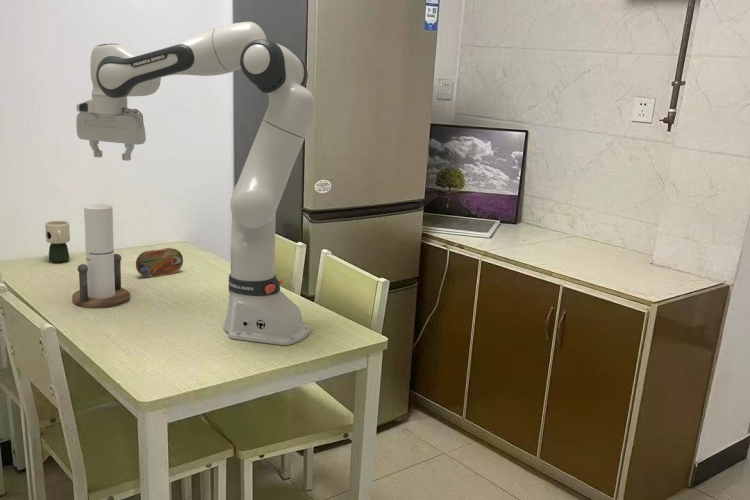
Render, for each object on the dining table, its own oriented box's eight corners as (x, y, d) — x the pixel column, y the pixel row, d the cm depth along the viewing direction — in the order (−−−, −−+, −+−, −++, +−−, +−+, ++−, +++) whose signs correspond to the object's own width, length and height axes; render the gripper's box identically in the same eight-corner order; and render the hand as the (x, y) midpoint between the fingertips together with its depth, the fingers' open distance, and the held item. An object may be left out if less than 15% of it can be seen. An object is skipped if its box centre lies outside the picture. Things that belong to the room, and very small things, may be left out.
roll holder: (141, 296, 198) (141, 256, 195) (103, 312, 184) (101, 269, 181) (100, 288, 203) (98, 249, 200) (59, 302, 189) (57, 261, 186)
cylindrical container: (105, 299, 189) (102, 210, 183) (82, 296, 190) (78, 207, 184) (120, 292, 196) (117, 205, 189) (97, 289, 197) (94, 203, 191)
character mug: (45, 257, 230) (43, 219, 227) (68, 256, 233) (66, 218, 230) (49, 266, 221) (46, 226, 217) (73, 264, 224) (71, 225, 221)
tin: (139, 279, 213) (138, 253, 211) (134, 277, 216) (134, 251, 214) (183, 272, 224) (183, 247, 221) (178, 270, 226) (178, 245, 224)
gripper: (150, 109, 183) (151, 161, 187) (88, 104, 190) (90, 154, 193) (134, 109, 178) (136, 163, 181) (71, 104, 184) (74, 156, 188)
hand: (112, 158), depth 187 cm, fingers open, 8 cm apart
